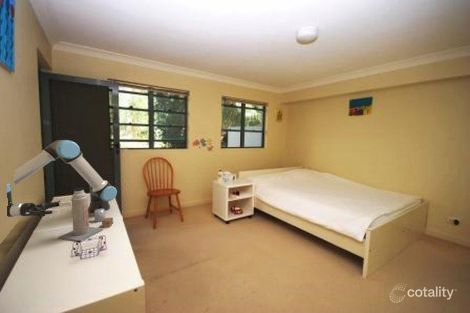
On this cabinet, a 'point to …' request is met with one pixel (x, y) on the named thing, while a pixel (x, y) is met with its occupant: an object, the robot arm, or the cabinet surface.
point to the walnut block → (107, 222)
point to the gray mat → (81, 237)
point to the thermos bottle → (80, 212)
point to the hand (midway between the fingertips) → (65, 207)
